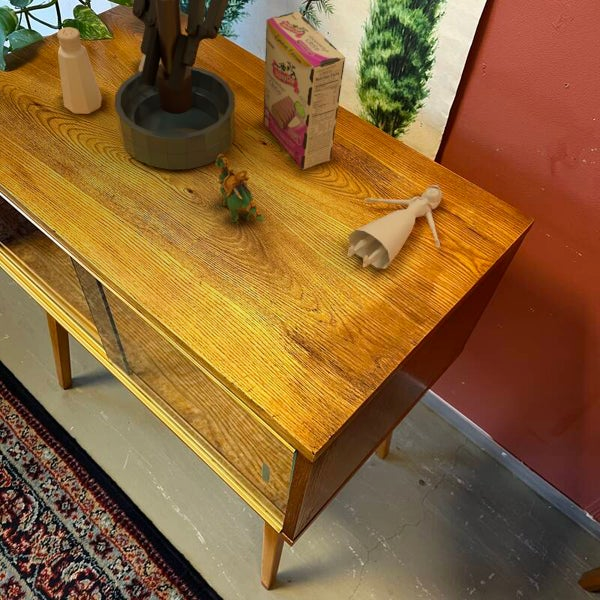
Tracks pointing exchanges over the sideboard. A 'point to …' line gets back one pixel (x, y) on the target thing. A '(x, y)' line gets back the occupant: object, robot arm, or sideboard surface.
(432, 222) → the woman figurine
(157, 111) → the bowl
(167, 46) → the pestle
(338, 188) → the sideboard surface
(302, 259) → the sideboard surface
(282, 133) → the candy bar box
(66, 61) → the pepper shaker
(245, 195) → the figurine
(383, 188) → the sideboard surface
